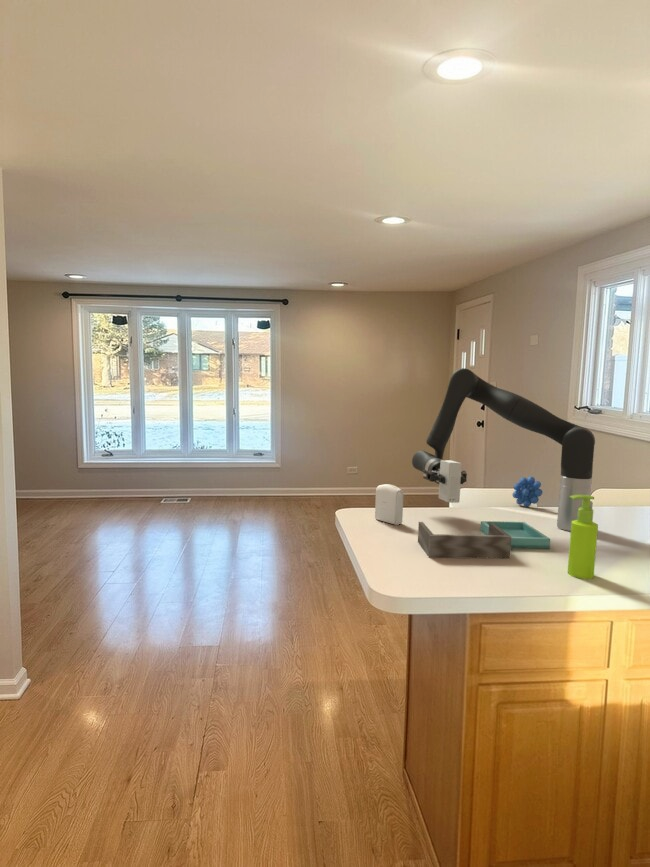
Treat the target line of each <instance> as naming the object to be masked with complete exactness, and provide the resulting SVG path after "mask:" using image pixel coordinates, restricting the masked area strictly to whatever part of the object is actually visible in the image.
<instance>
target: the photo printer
mask: <svg viewBox="0 0 650 867" xmlns="http://www.w3.org/2000/svg"><path fill="white" fill-rule="evenodd" d="M374 502H375V503H374V505H375V506H374V509H375V510H374V519H376V520H377V521H381V522H384V523H389V524H390V525H391V524H392V525H395V526H398V525H399V524H400V525H401V524H403V516H404V514H403V513H404V512H403V510H404V492H403V490H402V489H401V488H399V487H398V486H396V485H394V484H389V483H388V484H387V483H386V484H380V485H378V486H376V489H375V501H374Z"/></svg>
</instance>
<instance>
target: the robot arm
mask: <svg viewBox="0 0 650 867" xmlns="http://www.w3.org/2000/svg"><path fill="white" fill-rule="evenodd" d="M448 382H449V383H448V386H447V390H446V393H445V395H444V396H445V397H444V399H443V402H442V405H441V408H440V409H439V412H438V415H437V416H436V419H435V421H434V423H433V425H432V427H431V430H430V432H429V434H428V436H427V439H426V440H425V441H426V444H427V445H428V446H429V447H431V449H433V450H434V454H433V453H430V452H427V451H425V450H418V451H416V452H415V453H414V454H413V456H412V459H411V463H412V467H413V468H414V469H415V470H417V471H420V472H421V473H423V475H422V477H423V478H422V479H425V480H427V481H429V482H430V483H431V482H434V483H436V484H437V485H439V482H440V483H442V484H445V476H443V475H441V474H440V461H441V460H444V459H443V458H444V454H445V449H446V446H447V444H448V442H449V441H450V440H449V439H450V438H451V436H452V434H453V431H454V427H455V425H456V420H457V417H458V414H459V412H460V409H461V407H462V405H463V403H464V401H465V399H467V398H468V399H470V400H473V401H475V402H477V403H480V404H482V405H484V406H485V407H487V408H488V409H489V410H491V411H493V412H494V413H496V414H497V415H498V416H500V417H502V418H503V419H505V420H506V421H508V422H510V423H511V424H514V425H515V426H518V427H521V428H523V429H525V430H528V431H531V432H533V433H537V434H540V435H543V436H545V437H547V438H549V439H551V440H553V441H555V442H556V443H558V444H560V445H561V457H560V480H559V494H558V505H557V507H558V508H557V519H556V527H557V528H558V529H561V530H564V531H568V532H571V522H572V521H573V520H577V517H578V508H580V507H582V502H583V499H576V500H574V499H572V498H570V497H569V496H573V495H590V496H592V494H591V493H592V481H593V470H594V469H593V467H594V466H593V465H594V464H593V463H594V453H595V444H596V438H595V435H594V434H593V432H592V431H591V430H590V429H588V428H586V427H583V426H580V425H578V424H575V423H572V422H570V421H567V420H565V419H562V418H560V417H558V416H557V415H555V414H553V413H552V412H550V411H549V410H547V409H545V408H544V407H542V406H540V405H539V404H537V403H535V402H534V401H531V400H530V399H527V398H525V397H524V396H522V395H519V394H517V393H514V392H511V391H509V390H505V389H502V388H499V387H496V386H494V385H492V384H491V383H490V382H487V381H485V380H484V379H482V378H481V377H480V376H479V375H477V374H476V373H474V371H472V370H470V369H469V368H465V367H464V368H463V367H461V368H458V369H456V370H455V371H454V372H453V373H452V374H451V376H450V379H449V381H448ZM467 476H468V473H467V471H466V470H461V483H460V485H463V484H464V483H466V482H467V481H468V480H467ZM593 505H594V504H593V501H592V500H590V508H591V509H593Z"/></svg>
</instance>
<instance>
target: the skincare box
mask: <svg viewBox="0 0 650 867" xmlns="http://www.w3.org/2000/svg"><path fill="white" fill-rule="evenodd" d="M462 466H463V464H462V462H458V461H455V460H451V459H450V460H444V459H442V460H441V461H440V474H441V475H443V476H445V484H442V483H440V482H439V484H438V485H439V486H438V499H439V500H442V501H443V502H447V503H448V504H449V503H452V504H453V503H454V504H455V503H456V504H458V503H460V497H461V484H460V483H461V472H462Z"/></svg>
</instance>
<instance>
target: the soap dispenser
mask: <svg viewBox="0 0 650 867" xmlns="http://www.w3.org/2000/svg"><path fill="white" fill-rule="evenodd" d="M569 497H570V498H572V499H574V500H576V499H583V502H582V507H580V508H578V517H577V520H573V521H572V522H571V531H570V538H569V548H568V563H567V564H568V565H567V574H568V575H570V576H572V577H574V578H577V579H583V580H584V579H585V580H590V579H593V578H594V576H595V566H596V565H595V564H596V556H597V555H596V554H597V543H598V542H597V541H598V528H599V524H598V523H597V522H594V520H593V519H594V509H593V508H592V509H591V508H590V501H591V500H595V496H592V495H573V496H569Z"/></svg>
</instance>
